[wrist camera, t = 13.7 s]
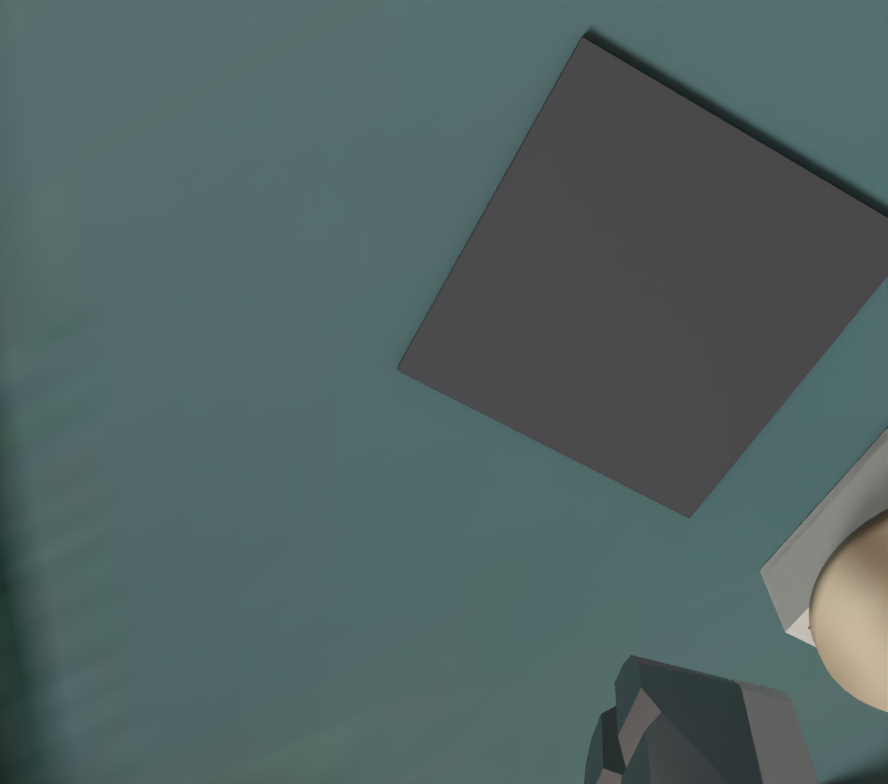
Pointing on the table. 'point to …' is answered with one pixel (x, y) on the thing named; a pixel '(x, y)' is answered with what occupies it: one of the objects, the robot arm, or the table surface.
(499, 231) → the mat
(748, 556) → the table surface
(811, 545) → the white hollow square box
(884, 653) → the lid
